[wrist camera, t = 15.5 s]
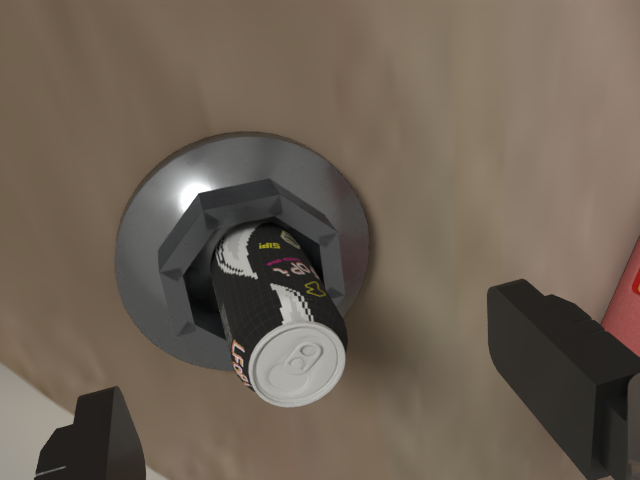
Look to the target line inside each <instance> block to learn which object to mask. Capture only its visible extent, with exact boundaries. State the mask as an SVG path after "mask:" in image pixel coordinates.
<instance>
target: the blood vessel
mask: <svg viewBox="0 0 640 480" xmlns="http://www.w3.org/2000/svg"><path fill="white" fill-rule="evenodd" d="M601 326H602V327H604V329H605V331H606V332H607V331H608V332H610V333H611V334H612V335H613V336H614V337H616V338H617V339H618V340H619V341H620V342H622V343H623V344H624V345H625V346H627V347H628V348H629V349H630V350H631V351H633V352H634V353H635V354H636V355H637V356H639V357H640V236H639V239H638V241H637V243H636V246H635V248H634V250H633V252H632V255H631V257H630V259H629V262H628V264H627V266H626V268H625V271H624V273H623V275H622V278H621V280H620V282H619V284H618V287H617V289H616V291H615V294H614V296H613V298H612V300H611V303H610V305H609V307H608V310H607V312H606V314H605V316H604V319H603V321H602V323H601Z"/></svg>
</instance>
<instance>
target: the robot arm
mask: <svg viewBox="0 0 640 480" xmlns="http://www.w3.org/2000/svg"><path fill="white" fill-rule="evenodd" d="M487 314H488V345H489V351H490V355H491V358H492V361H493V363H494V365H495V367H496V369H497V371H498V372H499V373H500V375H501V376H502V377H503V378H504V379H505V381H506V382H507V383H508V384H509V385H510V387H511V388H512V389H513V390H514V391H515V393H516V394H517V395H518V396H519V397H520V399H521V400H522V401H523V402H524V404H525V405H526V406H527V407H528V408H529V410H530V411H531V412H532V413H533V414H534V416H535V417H536V418H537V419H538V420H539V422H540V423H541V424H542V425H543V427H544V428H545V429H546V430H547V431H548V433H549V434H550V435H551V436H552V437H553V439H554V440H555V441H556V442H557V443H558V445H559V446H560V447H561V448H562V450H563V451H564V452H565V453H566V454H567V456H568V457H569V458H570V459H571V460H572V462H573V463H574V464H575V465H576V466H577V468H578V469H579V470H580V471H581V472H582V474H583V475H584V476H585V477H586V479H587V480H597V479H600V478H603V477H606V476H609V475H611V476H612V477H613V478H614V479H615V480H640V357H639V356H637V355H636V354H635V353H634V352H633V351H631V350H630V349H629V348H628V347H627V346H625V345H624V344H623V343H622V342H620V341H619V340H618V339H617V338H616V337H614V336H613V335H612V334H611V333H610V332H608V331H607V332H606V331H605V329H604V327H602V326H601V325H600V324H599V323H597V322H596V321H595V320H592V319H591V317H590V316H589V315H588V314H587V313H585V312H584V311H583V310H582V309H581V308H579V307H578V306H577V305H576V304H574V303H572V302H569V301H567V300H565V299H562V298H560V297H557V296H555V295H553V294H551V295H548V296H544V295H543V294H542V293H540V292H539V291H538V290H537V289H536V288H535V287H533V286H532V285H531V284H530V283H529V282H528V281H526V280H524V279H519V280H516V281H512V282H508V283H504V284H501V285H497V286H493V287H490V288H489V290H488V292H487ZM34 480H146V467H145V459H144V454H143V449H142V446H141V442H140V440H139V437H138V434H137V432H136V429H135V426H134V424H133V421H132V418H131V416H130V413H129V410H128V408H127V405H126V402H125V400H124V397H123V394H122V392H121V390H120V388H119V387H118V386H115V387H111V388H108V389H104V390H100V391H96V392H93V393H89V394H85V395H81V396H79V397H78V400H77V405H76V411H75V416H74V422H73V424H72V425H68V426H65V427H61V428H57V429H56V430H55V431H54V433H53V434H52V435H51V437H50V438H49V440H48V441H47V443H46V444H45V445H44V447H43V448H42V450H41V451H40V456H39V460H38V464H37V469H36V477H35V478H34Z"/></svg>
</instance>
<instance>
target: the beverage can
mask: <svg viewBox="0 0 640 480" xmlns="http://www.w3.org/2000/svg"><path fill="white" fill-rule="evenodd" d="M210 272H211V277H212V282H213V286H214V290H215V294H216V298H217V302H218V307H219V311H220V315H221V319H222V323H223V328H224V332H225V336H226V340H227V344H228V349H229V353H230V357H231V361H232V365H233V367H234V369H235V371H236V374H237V376H238V377H239V378H240V379H241V380H242V382H243V383H244V384H245V385H246V386H247V387H248V388H250V389H251V390H252V391H254V392H256V393H257V394H258V395H259V396H260V397H261V398H262V399H264V400H265V401H267V402H269V403H271V404H273V405H276V406H280V407H298V406H303V405H307V404H310V403H312V402H314V401H317V400H318V399H320V398H322V397H323V396H325V395H326V394H327V393H328V392H329V391H330V390H332V389H333V387H334V386H335V385H336V384H337V383H338V381H339V379H340V377H341V376H342V373H343V370H344V367H345V360H346V357H345V354H346V351H347V342H348V339H347V329H346V326H345V323H344V320H343V318H342V316H341V314H340V313H339V311H338V309H337V307H336V306H335V304H334V302H333V301H332V299H331V297H330V296H329V294H328V292H327V291H326V289H325V287H324V285H323V284H322V282H321V280H320V279H319V277H318V275H317V274H316V272H315V270H314V268H313V267H312V265H311V263H310V262H309V260H308V258H307V257H306V255H305V253H304V251H303V250H302V248H301V246H300V245H299V243H298V241H297V240H296V238H295V237H294V236H293V235H292V234H291V233H290V232H289V231H288V230H287V229H286V228H284V227H283V226H281V225H279V224H276V223H274V222H270V221H264V220H260V221H250V222H245V223H242V224H240V225H237V226H235V227H234V228H232V229H231V230H229V231H228V232H227V233H225V234H224V235H223V236H222V237H221V238H220V240H219V241H218V243H217V244H216V246H215V248H214V250H213V252H212V256H211V260H210Z"/></svg>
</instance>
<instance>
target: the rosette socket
mask: <svg viewBox="0 0 640 480" xmlns="http://www.w3.org/2000/svg"><path fill="white" fill-rule="evenodd" d="M260 220H264V221H270V222H274V223H276V224H279V225H281V226H283V227H284V228H286V229H287V230H288V231H289V232H290V233H291V234H292V235H293V236H294V237H295V238H296V240H297V241H298V243H299V245H300V246H301V248H302V250H303V251H304V253H305V255H306V257H307V258H308V260H309V262H310V263H311V265H312V267H313V268H314V270H315V272H316V274H317V275H318V277H319V279H320V280H321V282H322V284H323V285H324V287H325V289H326V291H327V292H328V294H329V296H330V297H331V299H332V301H333V302H334V304H335V306H336V307H337V309H338V311H339V313H340V314H341V316H342V318H344V316H345V315H346V313H347V312H348V311H349V309H350V308H351V306H352V305H353V303H354V301H355V299H356V297H357V295H358V293H359V291H360V289H361V286H362V284H363V281H364V278H365V274H366V270H367V266H368V259H369V250H370V249H369V231H368V225H367V220H366V217H365V214H364V211H363V207H362V205H361V203H360V201H359V199H358V197H357V195H356V193H355V192H354V190H353V189H352V187H351V186H350V184H349V183H348V181H347V180H346V179H345V178H344V177H343V176H342V175H341V174H340V173H339V171H338V170H337V169H336V168H335V167H334V166H333V165H332V164H331V163H330V162H328V161H327V160H326V159H325V158H323V157H322V156H321V155H320V154H319V153H317V152H315V151H314V150H312V149H310V148H309V147H307V146H306V145H304V144H301V143H299V142H297V141H294V140H292V139H290V138H286V137H282V136H279V135H275V134H270V133H263V132H232V133H224V134H219V135H215V136H211V137H207V138H204V139H201V140H199V141H196V142H194V143H191V144H189V145H187V146H185V147H183V148H181V149H180V150H178V151H176V152H174V153H173V154H171V155H170V156H168V157H167V158H166V159H164V160H163V161H162V162H160V163H159V164H158V165H157V166H156V167H155V168H154V169H153V170H152V171H151V172H150V173H149V174H148V175H147V176H146V177H145V178H144V179H143V180H142V182H141V183H140V184H139V186H138V187H137V188H136V189H135V191H134V193H133V195H132V196H131V198H130V200H129V201H128V203H127V205H126V208H125V210H124V213H123V215H122V217H121V220H120V224H119V229H118V233H117V240H116V251H115V275H116V281H117V286H118V290H119V294H120V296H121V299H122V302H123V304H124V307H125V309H126V310H127V312H128V314H129V316H130V317H131V319H132V321H133V322H134V323H135V325H136V326H137V327H138V328H139V330H140V331H141V332H142V333H143V334H144V335H145V336H146V337H147V338H148V339H149V340H150V341H151V342H152V343H153V344H155V345H156V346H158V347H159V348H160V349H162V350H163V351H164V352H166V353H168V354H170V355H172V356H174V357H175V358H177V359H180V360H182V361H185V362H187V363H190V364H193V365H197V366H200V367H204V368H209V369H217V370H235V369H234V367H233V365H232V361H231V357H230V353H229V349H228V344H227V340H226V336H225V332H224V328H223V323H222V319H221V315H220V311H219V307H218V302H217V298H216V294H215V290H214V286H213V282H212V277H211V272H210V260H211V256H212V252H213V250H214V248H215V246H216V244H217V243H218V241H219V240H220V238H221V237H222V236H223V235H224V234H225V233H227V232H228V231H229V230H231V229H232V228H234V227H235V226H237V225H240V224H242V223H245V222H250V221H260Z"/></svg>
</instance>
